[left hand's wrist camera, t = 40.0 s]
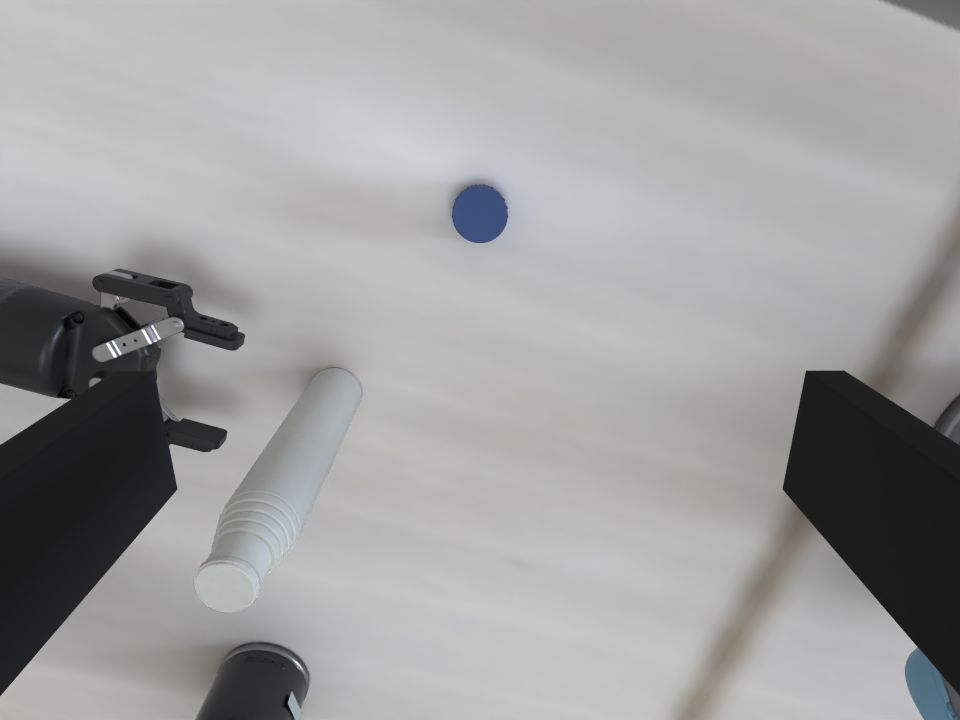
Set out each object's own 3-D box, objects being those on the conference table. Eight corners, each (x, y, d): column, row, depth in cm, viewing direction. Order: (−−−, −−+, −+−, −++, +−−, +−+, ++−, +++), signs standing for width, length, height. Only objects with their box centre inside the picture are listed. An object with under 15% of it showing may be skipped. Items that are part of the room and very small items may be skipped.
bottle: (367, 375, 53) (278, 564, 30) (355, 420, 54) (261, 634, 31) (316, 361, 52) (184, 541, 29) (305, 407, 54) (172, 613, 31)
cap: (447, 232, 49) (446, 236, 47) (459, 178, 47) (458, 180, 45) (500, 244, 49) (500, 249, 47) (512, 191, 47) (514, 193, 46)
